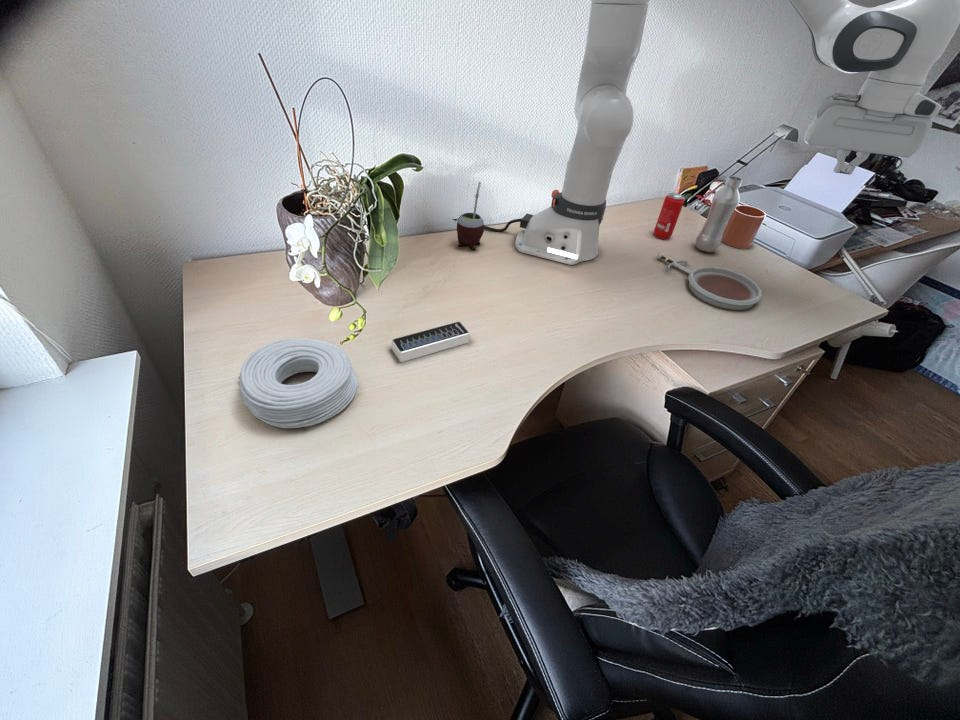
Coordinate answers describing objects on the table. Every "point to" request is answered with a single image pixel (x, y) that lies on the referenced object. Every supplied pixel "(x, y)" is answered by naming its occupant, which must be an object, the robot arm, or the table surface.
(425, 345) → the multiport hub
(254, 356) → the cable
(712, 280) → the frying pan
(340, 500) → the table surface
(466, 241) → the mate gourd
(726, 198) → the plastic bottle
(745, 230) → the mug
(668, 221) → the beverage can
